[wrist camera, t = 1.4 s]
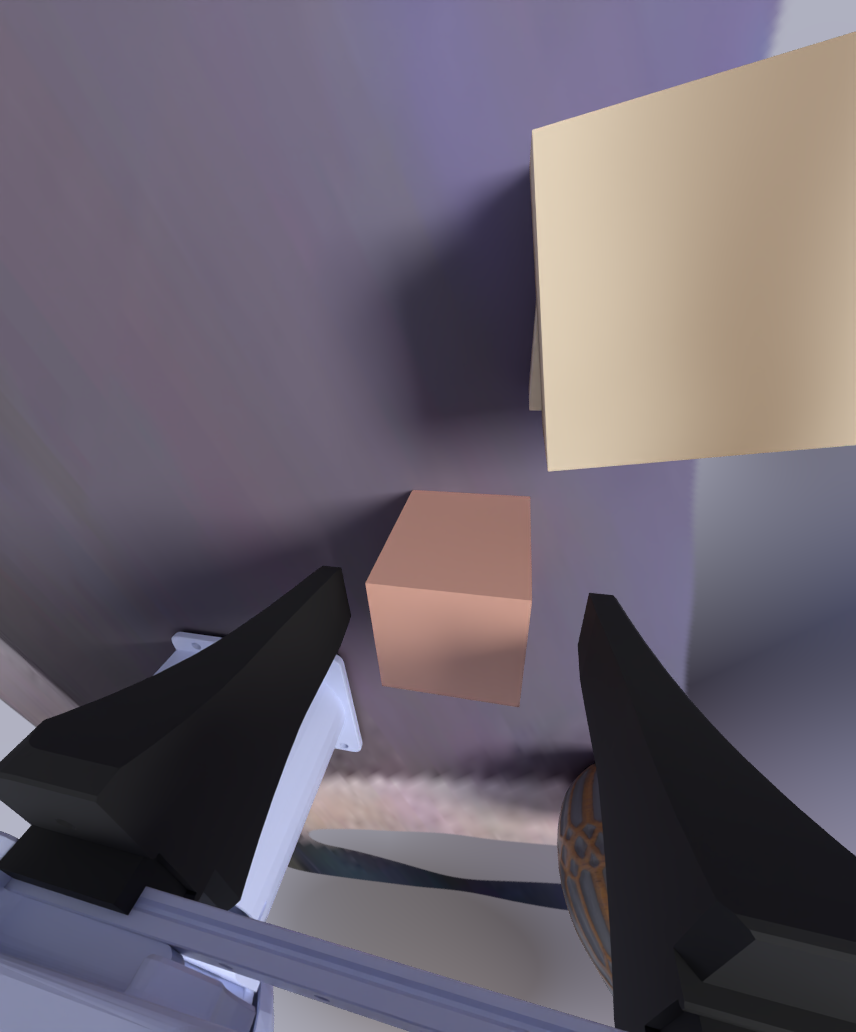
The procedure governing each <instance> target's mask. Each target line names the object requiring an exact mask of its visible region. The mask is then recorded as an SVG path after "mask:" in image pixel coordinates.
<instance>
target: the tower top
mask: <svg viewBox="0 0 856 1032" xmlns="http://www.w3.org/2000/svg"><path fill="white" fill-rule="evenodd" d="M529 168H530V188H531V207H532V227H533V247H534V267H535V287H536V306H537V326H538V346H539V366H540V386H541V405H542V425H543V435H544V443H545V451H546V459H547V467H548V471H560V470H571V469H583V468H594V467H606V466H617V465H629V464H641V463H652V462H664V461H675V460H687V459H699V458H710V457H721V456H733V455H745V454H756V453H768V452H779V451H790V450H803V449H815V448H826V447H836V446H837V447H838V446H849V445H856V32H852V33H849V34H846V35H843V36H839V37H836V38H833V39H830V40H826V41H823V42H820V43H817V44H813V45H810V46H807V47H803V48H800V49H797V50H793V51H790V52H787V53H783V54H780V55H777V56H774V57H770V58H767V59H764V60H760V61H757V62H754V63H751V64H747V65H744V66H741V67H738V68H734V69H731V70H728V71H724V72H721V73H718V74H715V75H711V76H708V77H705V78H701V79H698V80H695V81H692V82H688V83H685V84H682V85H678V86H675V87H672V88H669V89H665V90H662V91H659V92H655V93H652V94H649V95H646V96H642V97H639V98H636V99H632V100H629V101H626V102H623V103H619V104H616V105H613V106H609V107H606V108H603V109H600V110H596V111H593V112H590V113H586V114H583V115H580V116H577V117H573V118H570V119H567V120H564V121H560V122H557V123H554V124H550V125H547V126H544V127H541V128H537V129H534V130H532V140H531V154H530V167H529Z"/></svg>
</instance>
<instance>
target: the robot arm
mask: <svg viewBox="0 0 856 1032" xmlns="http://www.w3.org/2000/svg"><path fill="white" fill-rule="evenodd" d="M350 617H351V614H350V609H349V604H348V599H347V594H346V589H345V584H344V579H343V574H342V569H341V568H340V567H330V566H322V567H321V568H319V569H318V570H316V571H315V572H314V573H312V574H311V575H310V576H308V577H307V578H306V579H304V580H303V581H302V582H301V583H299V584H298V585H297V586H295V587H294V588H293V589H292V590H290V591H289V592H288V593H286V594H285V595H284V596H282V597H281V598H280V599H278V600H277V601H276V602H274V603H273V604H272V605H270V606H269V607H268V608H266V609H265V610H263V611H262V612H260V613H259V614H258V615H256V616H255V617H253V618H252V619H250V620H249V621H247V622H246V623H245V624H243V625H242V626H240V627H239V628H237V629H236V630H234V631H233V632H231V633H230V634H228V635H226V636H225V637H223V638H222V637H215V636H208V635H201V634H194V633H187V632H177V633H176V634H175V635H174V636H173V637H172V643H173V645H174V647H175V648H176V651H175V652H174V653H173V654H172V655H171V656H170V657H169V659H168V660H167V661H166V662H165V663H164V664H163V665H162V666H161V667H160V668H159V670H158V671H157V672H156V673H155V674H154V675H153V676H151V677H149V678H147V679H145V680H143V681H141V682H139V683H136V684H134V685H132V686H130V687H127V688H125V689H123V690H120V691H118V692H116V693H114V694H111V695H109V696H106V697H104V698H102V699H99V700H97V701H94V702H91V703H89V704H86V705H84V706H81V707H78V708H76V709H73V710H70V711H68V712H65V713H63V714H60V715H57V716H55V717H52V718H49V719H46V720H44V721H43V722H42V723H41V724H39V725H38V726H37V727H36V728H35V729H34V730H33V731H32V732H31V733H30V734H29V735H28V736H27V737H26V738H25V739H24V740H23V741H22V742H21V743H20V744H18V745H17V746H16V747H15V748H14V749H13V750H12V751H11V752H10V753H9V754H8V755H7V756H6V757H5V758H4V759H3V760H2V761H1V762H0V800H1V801H2V802H4V803H5V804H6V805H7V806H9V807H10V808H11V809H12V810H14V811H15V812H16V813H17V814H19V815H20V816H21V817H22V818H24V819H25V820H26V821H27V822H29V823H30V824H31V826H30V828H29V829H28V830H27V831H26V832H25V833H24V834H23V836H22V837H21V838H20V839H18V838H16V837H14V836H12V835H10V834H7V833H4V832H2V831H0V1032H274V1009H273V1008H274V1007H273V1003H274V996H273V986H275V987H278V988H281V989H284V990H287V991H290V992H293V993H296V994H299V995H302V996H305V997H308V998H311V999H314V1000H317V1001H320V1002H323V1003H326V1004H329V1005H332V1006H335V1007H338V1008H341V1009H344V1010H347V1011H350V1012H353V1013H356V1014H359V1015H362V1016H365V1017H368V1018H371V1019H374V1020H377V1021H379V1022H382V1023H385V1024H388V1025H391V1026H394V1027H397V1028H401V1029H403V1030H406V1031H409V1032H856V856H855V855H853V854H852V853H851V852H850V851H848V850H847V849H846V848H845V847H844V846H842V845H841V844H840V843H839V842H838V841H836V840H835V839H834V838H833V837H832V836H830V835H829V834H828V833H827V832H826V831H825V830H824V829H822V828H821V827H820V826H819V825H818V824H817V823H815V822H814V821H813V820H812V819H811V818H810V817H808V816H807V815H806V814H805V813H804V812H803V811H801V810H800V809H799V808H798V807H797V806H796V805H795V804H793V803H792V802H791V801H790V800H789V799H788V798H787V797H786V796H785V795H784V794H783V793H781V792H780V791H779V790H778V789H777V788H776V787H775V786H774V785H773V784H772V783H771V782H770V781H769V780H768V779H767V778H766V777H764V776H763V775H762V774H761V773H760V772H759V771H758V770H757V769H756V768H755V767H754V766H753V765H752V764H751V763H750V762H748V761H747V760H746V759H745V758H744V757H743V756H742V755H741V754H740V753H739V752H738V751H737V750H736V749H735V748H734V747H733V746H732V745H731V744H730V743H729V742H728V741H727V740H726V739H725V738H724V736H723V735H722V734H721V733H720V732H719V731H718V730H717V729H716V728H715V727H714V726H713V725H712V724H711V723H710V722H709V720H708V719H707V718H706V717H705V716H704V715H703V714H702V713H701V712H700V710H699V709H698V708H697V707H696V706H695V705H694V703H693V702H692V701H691V700H690V699H689V698H688V696H687V695H686V694H685V693H684V692H683V690H682V689H681V688H680V687H679V686H678V684H677V683H676V682H675V681H674V679H673V678H672V677H671V676H670V674H669V673H668V672H667V671H666V669H665V668H664V667H663V665H662V664H661V663H660V661H659V660H658V659H657V657H656V656H655V655H654V653H653V652H652V651H651V649H650V648H649V647H648V645H647V644H646V642H645V641H644V640H643V638H642V637H641V635H640V634H639V632H638V631H637V629H636V628H635V627H634V625H633V624H632V622H631V621H630V619H629V618H628V616H627V615H626V613H625V611H624V610H623V608H622V607H621V605H620V604H619V602H618V600H617V599H616V598H615V597H614V596H613V595H605V594H595V593H589V596H588V601H587V605H586V610H585V614H584V619H583V624H582V628H581V633H580V637H579V642H578V655H579V671H580V682H581V688H582V694H583V699H584V705H585V710H586V716H587V721H588V726H589V732H590V737H591V742H592V748H593V753H594V759H595V764H596V771H597V778H598V785H599V795H600V806H601V817H602V828H603V841H604V853H605V866H606V880H607V895H608V910H609V925H610V943H611V962H612V981H613V1003H614V1022H615V1028H613V1027H610V1026H607V1025H603V1024H600V1023H597V1022H594V1021H590V1020H587V1019H583V1018H580V1017H577V1016H574V1015H570V1014H567V1013H563V1012H560V1011H557V1010H554V1009H551V1008H547V1007H544V1006H541V1005H537V1004H534V1003H531V1002H527V1001H524V1000H521V999H517V998H514V997H511V996H507V995H504V994H501V993H498V992H494V991H490V990H488V989H484V988H481V987H478V986H474V985H471V984H468V983H464V982H461V981H458V980H454V979H451V978H448V977H444V976H441V975H438V974H434V973H431V972H428V971H425V970H421V969H418V968H415V967H412V966H408V965H405V964H401V963H398V962H394V961H392V960H388V959H385V958H382V957H378V956H375V955H372V954H368V953H365V952H362V951H359V950H355V949H352V948H349V947H345V946H342V945H339V944H335V943H332V942H329V941H325V940H322V939H319V938H315V937H312V936H309V935H306V934H302V933H299V932H296V931H292V930H289V929H286V928H282V927H279V926H275V925H272V924H269V923H266V919H267V916H268V914H269V912H270V909H271V907H272V904H273V902H274V899H275V896H276V894H277V892H278V889H279V887H280V884H281V881H282V879H283V876H284V874H285V871H286V869H287V866H288V864H289V861H290V859H291V856H292V854H293V851H294V849H295V846H296V844H297V841H298V839H299V836H300V834H301V831H302V829H303V826H304V824H305V821H306V819H307V816H308V813H309V811H310V808H311V806H312V803H313V801H314V798H315V796H316V793H317V791H318V788H319V786H320V783H321V781H322V778H323V776H324V773H325V771H326V768H327V766H328V763H329V761H330V758H331V756H332V753H333V750H334V748H337V749H342V750H347V751H352V752H358V751H360V750H361V747H362V739H361V734H360V730H359V726H358V721H357V717H356V713H355V708H354V704H353V700H352V695H351V691H350V687H349V682H348V678H347V674H346V669H345V665H344V661H343V659H342V658H341V657H340V656H338V655H337V652H338V650H339V648H340V646H341V643H342V640H343V638H344V635H345V632H346V629H347V626H348V623H349V620H350Z"/></svg>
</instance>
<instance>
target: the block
mask: <svg viewBox="0 0 856 1032" xmlns="http://www.w3.org/2000/svg"><path fill="white" fill-rule="evenodd" d="M365 584H366V590H367V596H368V602H369V608H370V615H371V621H372V627H373V633H374V639H375V645H376V651H377V657H378V663H379V669H380V675H381V682H382V686H387V687H393V688H400V689H406V690H412V691H419V692H425V693H431V694H438V695H444V696H450V697H457V698H463V699H470V700H476V701H482V702H489V703H495V704H501V705H508V706H514V707H519V704H520V696H521V688H522V679H523V671H524V663H525V654H526V646H527V638H528V629H529V621H530V613H531V604H532V577H531V522H530V497H526V496H508V495H491V494H473V493H455V492H438V491H420V490H412V492H411V494H410V496H409V498H408V500H407V502H406V504H405V506H404V508H403V510H402V512H401V514H400V516H399V518H398V520H397V522H396V524H395V525H394V527H393V529H392V531H391V533H390V535H389V537H388V539H387V541H386V543H385V545H384V547H383V549H382V551H381V553H380V555H379V557H378V559H377V561H376V563H375V565H374V567H373V569H372V571H371V573H370V575H369V577H368V579H367V581H366V583H365Z"/></svg>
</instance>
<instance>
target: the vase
mask: <svg viewBox="0 0 856 1032" xmlns="http://www.w3.org/2000/svg"><path fill="white" fill-rule="evenodd" d="M557 848H558V865H559V873H560V878H561V884H562V889H563V893H564V897H565V900H566V904H567V907H568V910H569V913H570V917H571V919H572V922H573V925H574V927H575V930H576V932H577V934H578V936H579V938H580V940H581V942H582V944H583V946H584V948H585V950H586V952H587V953H588V955H589V957H590V959H591V960H592V962H593V964H594V965H595V967H596V969H597V970H598V972H599V974H600V975H601V977H602V979H603V981H604V982H605V984H606V986H607V987H608V989H609V991H610V992H611V994H612V996H613V981H612V962H611V943H610V925H609V910H608V895H607V880H606V866H605V853H604V841H603V828H602V817H601V806H600V795H599V785H598V778H597V771H596V764H593V765H591V766H589V767H588V768H586V769H585V770H584V771H583V772H582V773H581V774H580V775H579V776H578V777H577V778H576V779H575V780H574V781H573V783H572V784H571V786H570V787H569V789H568V791H567V792H566V795H565V798H564V801H563V803H562V807H561V812H560V816H559V823H558V838H557Z"/></svg>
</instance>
